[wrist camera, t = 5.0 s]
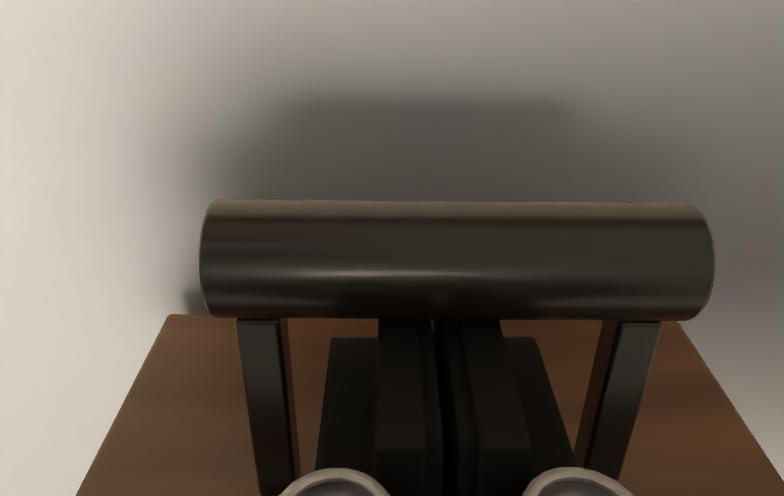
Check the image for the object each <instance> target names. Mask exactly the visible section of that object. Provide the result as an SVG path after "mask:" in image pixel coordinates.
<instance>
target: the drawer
mask: <svg viewBox="0 0 784 496" xmlns="http://www.w3.org/2000/svg"><path fill="white" fill-rule="evenodd" d="M714 274H715V251H714V243H713V238H712V234H711V230H710V228H709V225H708V223H707V220H706V219H705V217H704V215H703V214H702V213H701V211H700V210H699V209H698V208H696V207H695V206H693V205H691V204H688V203H638V202H516V201H394V200H273V199H217V200H215V201H213V202H212V203H211V204H210V205H209V207H208V209H207V211H206V214H205V217H204V220H203V224H202V229H201V235H200V243H199V278H200V286H201V292H202V296H203V300H204V303H205V306H206V309H207V311H208V312H209V314H210V315H209V314H171V315H168V317H167V318H166V320H165V322H164V324H163V326H162V328H161V330H160V332H159V334H158V336H157V338H156V340H155V342H154V344H153V346H152V348H151V350H150V352H149V354H148V356H147V358H146V359H145V361H144V363H143V365H142V367H141V369H140V371H139V373H138V375H137V377H136V379H135V381H134V383H133V385H132V387H131V389H130V391H129V393H128V395H127V397H126V398H125V400H124V402H123V404H122V406H121V408H120V410H119V412H118V414H117V416H116V418H115V420H114V422H113V424H112V426H111V428H110V430H109V432H108V434H107V436H106V438H105V439H104V441H103V443H102V445H101V447H100V449H99V451H98V453H97V455H96V457H95V459H94V461H93V463H92V465H91V467H90V469H89V471H88V473H87V475H86V477H85V479H84V480H83V482H82V484H81V486H80V488H79V490H78V492H77V494H76V496H279V495H280V494H281V493H282V492H283V491H284V490H285V489H286V488H287V487H288V486H289V485H290V484H291V483H292V482H294V481H296V480H297V479H299V478H301V477H303V476H305V475H306V474H308V473H311V472H315V464H316V455H317V447H318V439H319V431H320V422H321V414H322V406H323V398H324V389H325V381H326V373H327V365H328V356H329V348H330V342H331V338H332V337H378V319H431V322H432V325H433V319H470V320H499V322H500V325H501V329H502V333H503V337H533V338H534V339H535V340H536V342H537V345H538V347H539V350H540V353H541V356H542V359H543V362H544V365H545V368H546V371H547V375H548V378H549V381H550V384H551V387H552V390H553V393H554V396H555V399H556V402H557V405H558V408H559V411H560V414H561V417H562V420H563V423H564V426H565V429H566V432H567V435H568V438H569V441H570V444H571V447H572V451H573V454H574V457H575V460H576V463H577V466H578V467H580V468H584V469H588V470H592V471H597V472H599V473H601V474H603V475H605V476H607V477H609V478H611V479H614V480H616V481H617V482H618V483H620V484H621V485H622V486H623V487H625V488H626V489H627V490H628V491H630V492H631V493H632V494H633V495H634V496H784V482H783V480H782V479H781V477H780V476H779V474H778V473H777V471H776V470H775V468H774V467H773V465H772V463H771V462H770V460H769V459H768V457H767V456H766V454H765V453H764V451H763V450H762V448H761V447H760V445H759V444H758V442H757V441H756V439H755V438H754V436H753V435H752V433H751V432H750V430H749V429H748V427H747V426H746V424H745V423H744V421H743V420H742V418H741V417H740V415H739V414H738V412H737V410H736V409H735V407H734V406H733V404H732V403H731V401H730V400H729V398H728V397H727V395H726V394H725V392H724V391H723V389H722V388H721V386H720V385H719V383H718V382H717V380H716V379H715V377H714V376H713V374H712V373H711V371H710V370H709V368H708V367H707V365H706V364H705V362H704V360H703V359H702V357H701V356H700V354H699V353H698V351H697V350H696V348H695V347H694V345H693V344H692V342H691V341H690V339H689V338H688V336H687V335H686V333H685V332H684V330H683V329H682V327H681V326H680V324H679V323H678V321H687V320H690V319H692V318H695V317H696V316H698V315H699V314H700V313H701V312H702V310H703V309H704V307H705V306H706V304H707V302H708V299H709V297H710V294H711V290H712V287H713V281H714Z"/></svg>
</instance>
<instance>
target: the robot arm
mask: <svg viewBox="0 0 784 496" xmlns="http://www.w3.org/2000/svg"><path fill="white" fill-rule="evenodd" d="M279 496H634V495H633V494H632V493H631V492H630V491H628V490H627V489H626V488H625V487H623V486H622V485H621V484H620V483H618V482H617V481H616V480H614V479H611V478H609V477H607V476H605V475H603V474H601V473H599V472H597V471H592V470H588V469H584V468H580V467H578V466H577V463H576V460H575V457H574V454H573V451H572V447H571V444H570V441H569V438H568V435H567V432H566V429H565V426H564V423H563V420H562V417H561V414H560V411H559V408H558V405H557V402H556V399H555V396H554V393H553V390H552V387H551V384H550V381H549V378H548V375H547V371H546V368H545V365H544V362H543V359H542V356H541V353H540V350H539V347H538V345H537V342H536V340H535V339H534V338H533V337H503V333H502V329H501V325H500V322H499V320H470V319H433V325H432V322H431V319H378V337H332V338H331V342H330V348H329V356H328V365H327V373H326V381H325V389H324V398H323V406H322V414H321V422H320V431H319V439H318V447H317V455H316V464H315V472H311V473H308V474H306V475H305V476H303V477H301V478H299V479H297V480H296V481H294V482H292V483H291V484H290V485H289V486H288V487H287V488H286V489H285V490H284V491H283V492H282V493H281V494H280V495H279Z"/></svg>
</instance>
